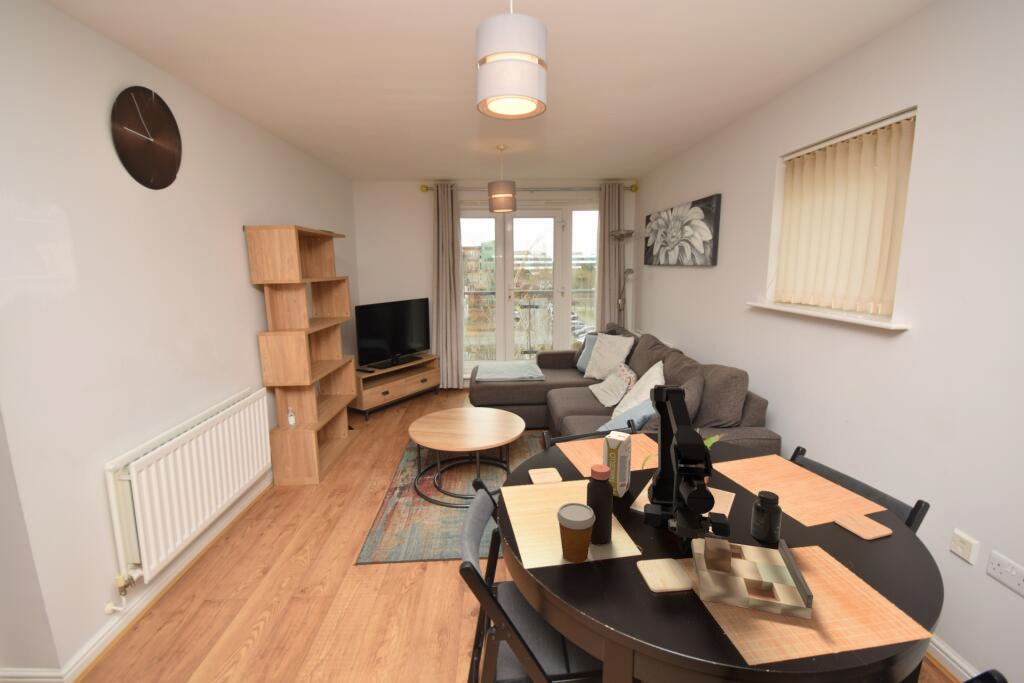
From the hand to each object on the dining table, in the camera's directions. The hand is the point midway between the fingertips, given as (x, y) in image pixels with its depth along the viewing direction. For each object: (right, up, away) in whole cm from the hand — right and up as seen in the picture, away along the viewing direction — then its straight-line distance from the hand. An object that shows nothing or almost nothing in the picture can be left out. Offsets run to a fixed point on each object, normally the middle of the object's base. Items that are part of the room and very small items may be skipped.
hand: (683, 552), depth 108 cm
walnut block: (+7, -2, -2) cm, 8 cm away
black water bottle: (-18, -3, +13) cm, 22 cm away
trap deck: (+13, -5, -3) cm, 14 cm away
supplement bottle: (+27, -2, +13) cm, 30 cm away
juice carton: (-7, +2, +39) cm, 39 cm away
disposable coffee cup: (-25, -4, +6) cm, 26 cm away
